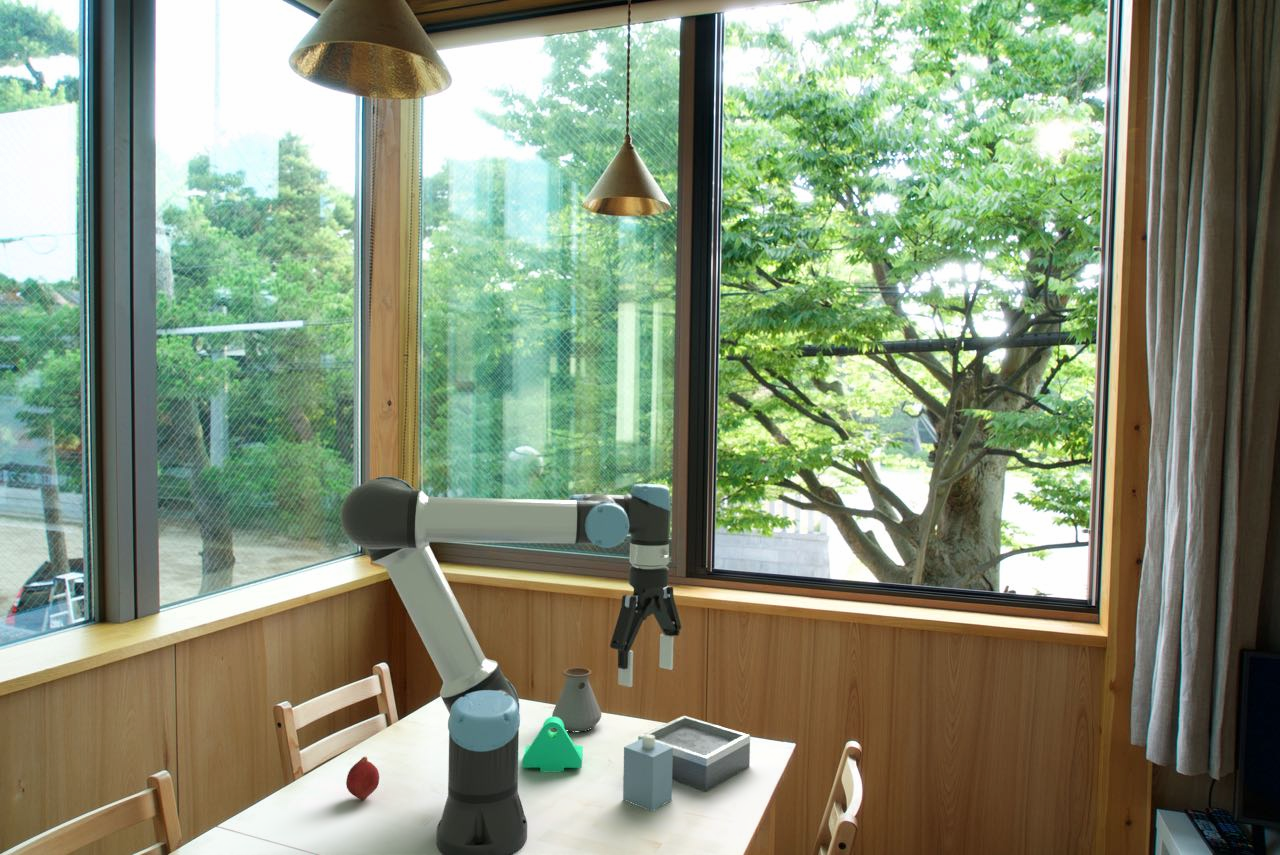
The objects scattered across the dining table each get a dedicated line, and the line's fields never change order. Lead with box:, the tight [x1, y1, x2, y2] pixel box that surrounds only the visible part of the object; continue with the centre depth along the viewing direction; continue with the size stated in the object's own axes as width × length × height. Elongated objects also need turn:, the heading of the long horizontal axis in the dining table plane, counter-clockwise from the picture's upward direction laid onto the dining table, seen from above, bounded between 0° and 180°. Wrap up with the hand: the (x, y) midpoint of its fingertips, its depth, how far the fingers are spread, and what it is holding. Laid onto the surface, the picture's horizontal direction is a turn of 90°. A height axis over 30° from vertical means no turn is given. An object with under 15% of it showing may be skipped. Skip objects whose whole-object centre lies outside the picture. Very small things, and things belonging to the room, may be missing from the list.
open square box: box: [637, 715, 751, 793], centre depth 172 cm, size 16×17×6 cm
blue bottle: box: [622, 734, 673, 812], centre depth 156 cm, size 6×7×12 cm
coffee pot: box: [551, 667, 602, 733], centre depth 188 cm, size 21×12×15 cm, turn 8°
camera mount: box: [521, 716, 584, 771], centre depth 172 cm, size 12×8×10 cm, turn 92°
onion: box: [345, 756, 380, 801], centre depth 154 cm, size 6×6×8 cm
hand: (646, 676), depth 158 cm, fingers open, 13 cm apart
